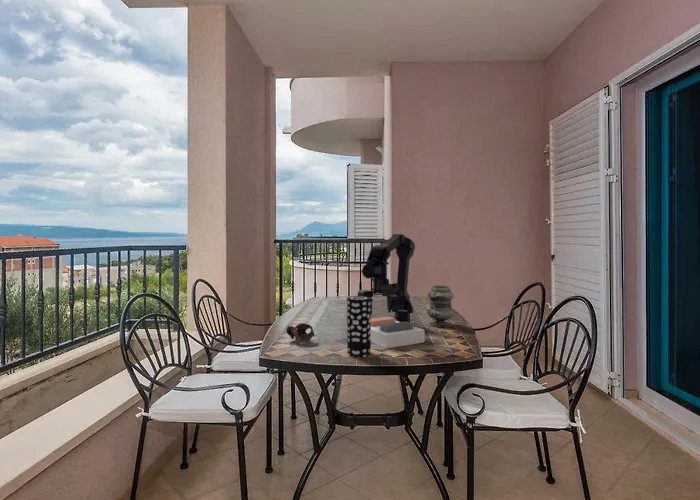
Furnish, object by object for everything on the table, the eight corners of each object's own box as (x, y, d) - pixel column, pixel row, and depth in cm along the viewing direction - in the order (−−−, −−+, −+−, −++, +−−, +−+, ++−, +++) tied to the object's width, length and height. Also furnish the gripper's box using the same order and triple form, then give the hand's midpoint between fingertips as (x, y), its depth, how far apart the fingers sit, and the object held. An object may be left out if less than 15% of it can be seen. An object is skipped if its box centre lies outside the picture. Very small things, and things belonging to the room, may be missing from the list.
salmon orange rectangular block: (389, 325, 184) (389, 316, 184) (395, 328, 179) (395, 318, 179) (365, 328, 178) (364, 319, 178) (371, 331, 174) (371, 321, 174)
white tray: (390, 330, 188) (390, 318, 188) (424, 342, 167) (424, 329, 167) (354, 334, 180) (354, 323, 180) (385, 348, 159) (385, 335, 159)
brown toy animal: (316, 339, 175) (318, 324, 170) (308, 355, 167) (309, 340, 162) (289, 331, 177) (290, 316, 172) (279, 346, 169) (280, 331, 164)
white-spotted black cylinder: (354, 358, 147) (353, 300, 146) (343, 352, 154) (343, 297, 153) (375, 355, 150) (374, 298, 150) (363, 349, 158) (363, 295, 157)
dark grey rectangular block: (405, 331, 173) (405, 321, 173) (412, 333, 169) (412, 323, 169) (380, 334, 168) (380, 324, 167) (387, 337, 163) (387, 327, 163)
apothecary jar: (433, 328, 191) (433, 288, 190) (423, 322, 203) (423, 285, 202) (458, 327, 193) (458, 287, 193) (447, 321, 205) (447, 284, 204)
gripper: (370, 279, 166) (370, 319, 167) (409, 276, 175) (409, 314, 176) (356, 276, 176) (357, 314, 177) (394, 274, 185) (394, 310, 186)
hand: (380, 313), depth 178 cm, fingers open, 9 cm apart
